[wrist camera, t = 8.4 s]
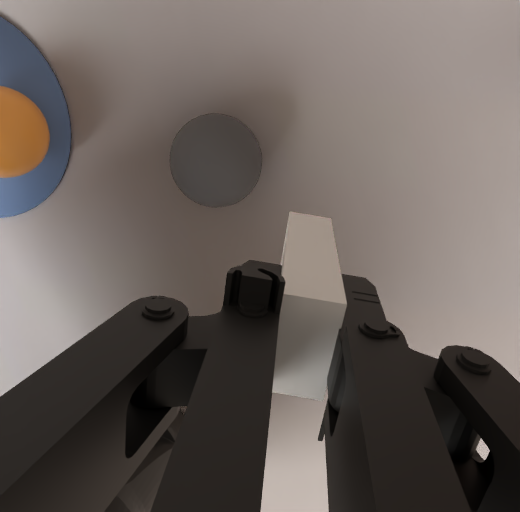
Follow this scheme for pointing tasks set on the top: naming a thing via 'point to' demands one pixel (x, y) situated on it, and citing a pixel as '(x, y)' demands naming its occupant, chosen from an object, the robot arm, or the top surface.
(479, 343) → the top surface
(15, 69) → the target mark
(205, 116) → the dark gray ball
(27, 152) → the object ball
